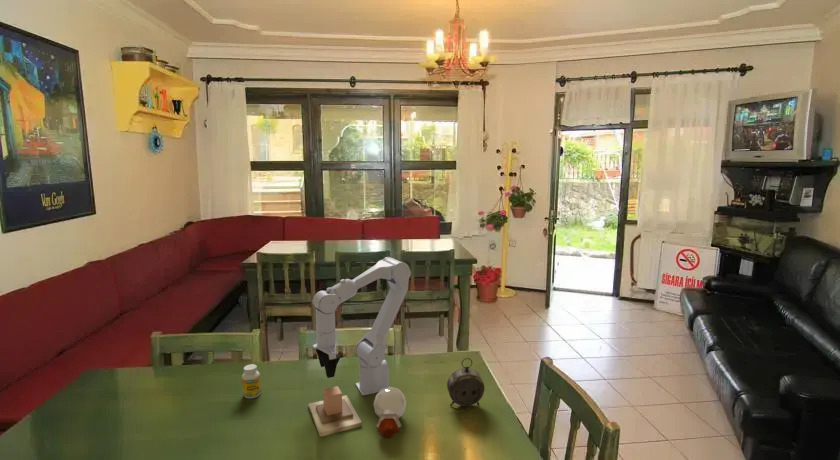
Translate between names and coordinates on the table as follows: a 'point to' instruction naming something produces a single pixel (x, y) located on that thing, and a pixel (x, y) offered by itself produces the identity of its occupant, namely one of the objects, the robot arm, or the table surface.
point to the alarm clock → (465, 386)
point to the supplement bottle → (251, 381)
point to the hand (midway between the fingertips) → (327, 371)
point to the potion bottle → (389, 410)
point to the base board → (334, 418)
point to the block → (332, 400)
